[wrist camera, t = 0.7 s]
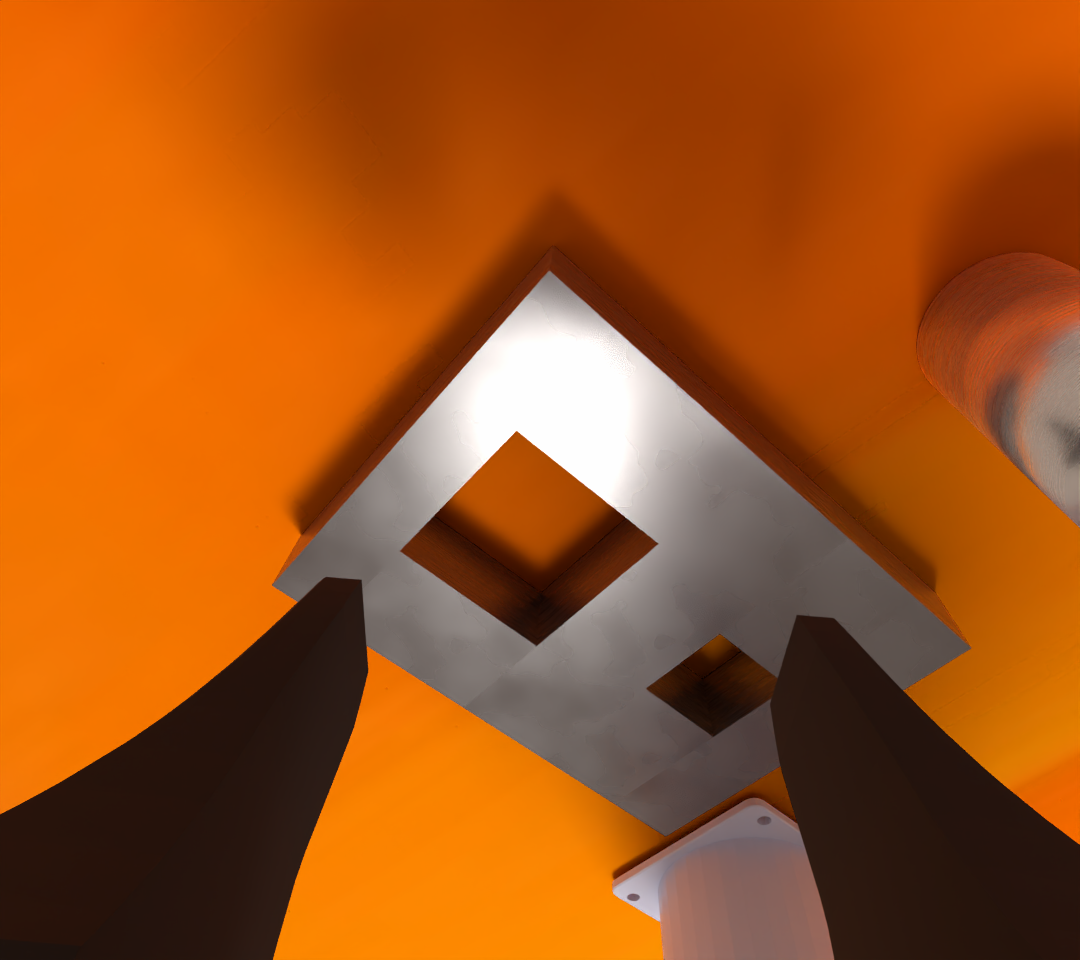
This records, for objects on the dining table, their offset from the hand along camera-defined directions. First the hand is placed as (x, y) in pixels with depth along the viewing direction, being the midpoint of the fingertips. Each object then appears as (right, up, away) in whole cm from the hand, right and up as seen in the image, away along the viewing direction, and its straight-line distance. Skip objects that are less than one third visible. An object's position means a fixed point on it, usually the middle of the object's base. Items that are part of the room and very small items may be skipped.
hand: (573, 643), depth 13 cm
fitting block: (+2, 0, +11) cm, 11 cm away
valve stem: (+11, +7, +7) cm, 15 cm away
